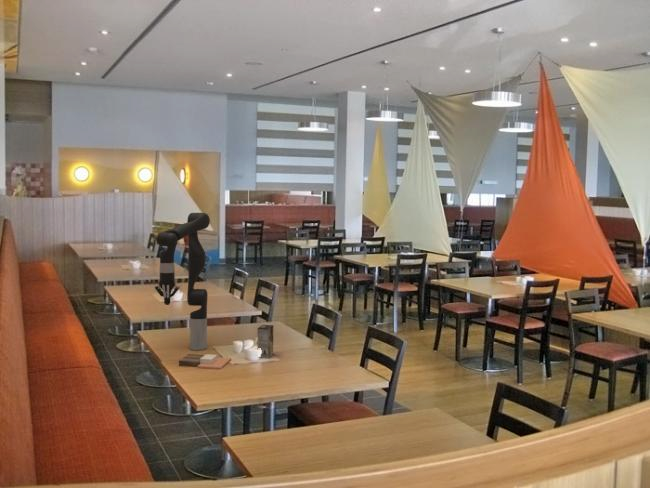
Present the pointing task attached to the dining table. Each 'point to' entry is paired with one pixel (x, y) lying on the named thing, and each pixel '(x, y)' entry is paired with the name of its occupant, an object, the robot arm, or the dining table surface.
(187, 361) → the walnut deck
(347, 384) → the dining table surface
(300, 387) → the dining table surface
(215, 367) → the terracotta mat
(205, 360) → the cream tile
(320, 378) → the dining table surface
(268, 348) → the coffee box
